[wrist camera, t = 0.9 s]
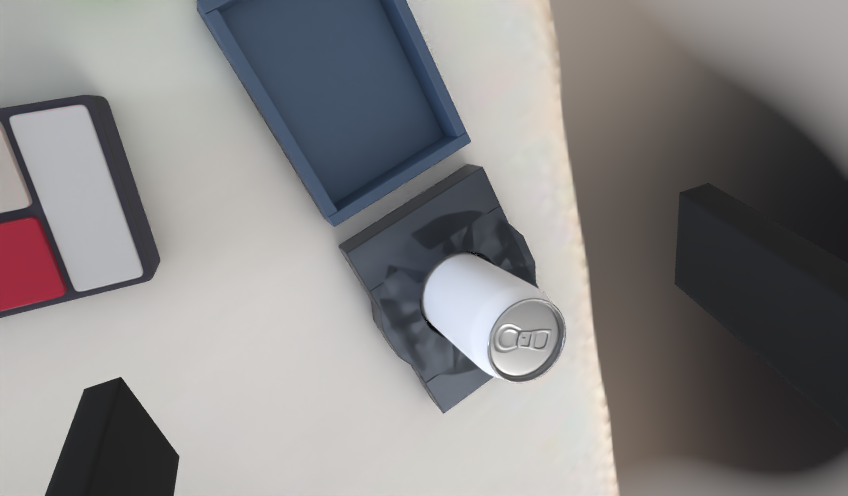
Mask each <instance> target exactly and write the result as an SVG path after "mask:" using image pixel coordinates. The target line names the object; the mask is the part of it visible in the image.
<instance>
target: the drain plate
mask: <svg viewBox="0 0 848 496" xmlns="http://www.w3.org/2000/svg"><path fill="white" fill-rule="evenodd" d="M339 248H340V250H341V252H342V253H343V255H344V257H345V258H346V260H347V262H348V263H349V265H350V266H351V268H352V270H353V271H354V273H355V275H356V276H357V278H358V279H359V281H360V282H361V284H362V286H363V288H364V289H365V291H366V292H367V294H368V296H369V297H370V299H371V304H372V311H373V319H374V322H375V323H376V325H377V326H378V328H379V330H380V331H381V333H382V334H383V336H384V338H385V339H386V341H387V342H388V344H389V345H390V347H391V348H392V349H393V350H394V352H395V353H396V354H397V355H398V357H400V358H401V359H403V360H404V361H406V362H407V363H409V364H411V366H412V368H413V369H414V371H415V373H416V374H417V376H418V377H419V379H420V381H421V382H422V384H423V386H424V387H425V389H426V390H427V392H428V394H429V395H430V397H431V399H432V400H433V401H434V402H435V404H436V405H437V406H438V407H439V409H440V410H441V411H442V412H443V413H445V412H446V411H448V410H449V409H451V408H452V407H453V406H455V405H456V404H457V403H459V402H460V401H461V400H463V399H464V398H466V397H467V396H468V395H470V394H471V393H472V392H474V391H475V390H476V389H478V388H479V387H480V386H482V385H483V384H485V383H486V382H487V381H489V380H490V379H491V378H493V377H494V376H491V375H489V374H488V373H486V372H484V371H483V370H482V369H481V368H479V367H478V366H477V365H476V364H475V363H474V362H472V361H471V360H470V359H469V358H468V357H467V356H466V355H465V354H464V353H463V352H461V351H460V350H459V349H458V348H457V347H456V346H455V345H454V344H453V343H452V342H450V341H449V340H448V339H447V338H446V337H445V336H444V335H443V334H442V333H441V332H440V331H439V330H437V329H436V328H435V327H434V326H430V325H429V324H427V323H426V321H425V319H424V318H423V316H422V314H421V307H420V298H419V296H420V293H421V289H422V286H423V282H424V279H425V277H426V276H427V275H428V273H429V272H430V270H431V269H432V268H433V266H434V265H435V264H436V263H438V262H439V261H441V260H442V259H444V258H445V257H447V256H448V255H450V254H453V253H458V252H462V251H471V252H475V253H477V254H478V255H479V256H480V257H481V259H483V260H485V261H487V262H489V263H491V264H493V265H495V266H497V267H499V268H501V269H503V270H505V271H507V272H508V273H510V274H512V275H514V276H516V277H518V278H520V279H522V280H524V281H526V282H527V283H529V284H531V285H533V286H535V287H536V288H538V286H537V284H536V275H535V261H534V259H533V257H532V255H531V252H530V250H529V248H528V246H527V244H526V241H525V239H524V237H523V236H522V235H521V234H520V233H519V232H518V231H517V230H516V229H514V228H513V227H512V226H511V225H510V224H509V223H508V221H507V219H506V216H505V214H504V212H503V210H502V208H501V206H500V204H499V201H498V199H497V197H496V195H495V193H494V191H493V188H492V186H491V184H490V182H489V180H488V178H487V175H486V173H485V171H484V169H483V167H480V166H475V165H470V164H468V165H466V166H464V167H463V168H461V169H460V170H458V171H456V172H455V173H453V174H452V175H450V176H448V177H447V178H445V179H444V180H442V181H441V182H439V183H437V184H436V185H434V186H433V187H431V188H429V189H428V190H426V191H425V192H423V193H422V194H420V195H418V196H417V197H415V198H414V199H412V200H410V201H409V202H407V203H406V204H404V205H402V206H401V207H399V208H398V209H396V210H395V211H393V212H391V213H390V214H388V215H387V216H385V217H383V218H382V219H380V220H379V221H377V222H376V223H374V224H372V225H371V226H369V227H368V228H366V229H364V230H363V231H361V232H360V233H358V234H356V235H355V236H353V237H352V238H350V239H349V240H347V241H345V242H344V243H342V244H341V245H339ZM538 289H539V288H538Z"/></svg>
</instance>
